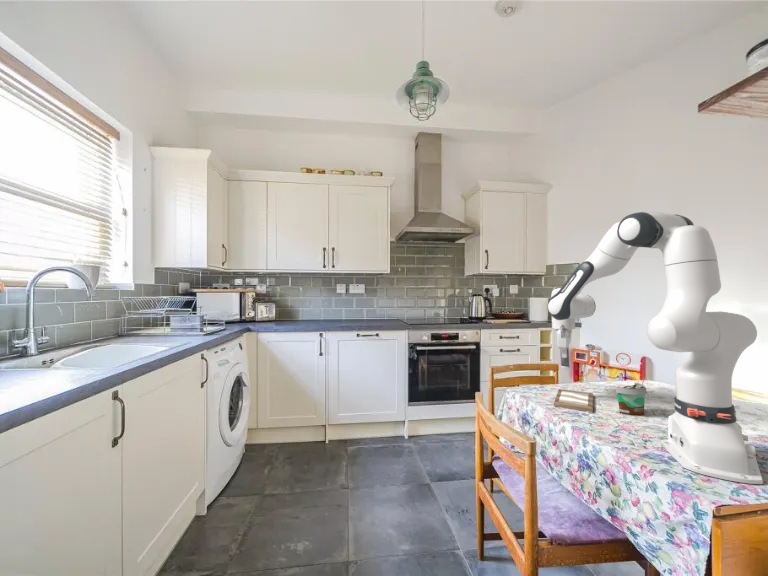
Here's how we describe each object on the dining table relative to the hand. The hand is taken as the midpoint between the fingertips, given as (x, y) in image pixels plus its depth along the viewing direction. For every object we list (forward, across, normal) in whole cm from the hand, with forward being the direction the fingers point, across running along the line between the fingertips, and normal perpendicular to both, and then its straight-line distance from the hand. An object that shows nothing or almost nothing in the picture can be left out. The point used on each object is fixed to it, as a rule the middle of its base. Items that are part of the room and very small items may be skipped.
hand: (565, 356), depth 138 cm
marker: (+5, 0, 0) cm, 5 cm away
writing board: (+18, -4, -3) cm, 18 cm away
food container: (+18, -9, -23) cm, 30 cm away
